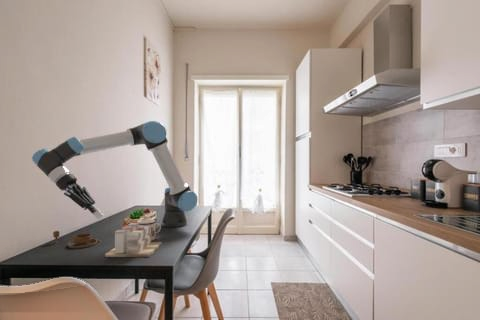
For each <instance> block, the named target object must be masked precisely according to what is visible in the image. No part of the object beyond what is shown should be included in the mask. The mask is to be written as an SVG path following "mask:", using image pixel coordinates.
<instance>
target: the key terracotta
mask: <svg viewBox="0 0 480 320" xmlns="http://www.w3.org/2000/svg"><path fill="white" fill-rule="evenodd" d="M120 230H127V234H129V233H131V232H132V231H133V226H128V225H127V226H125V225H124V226H123V227H121V228H120Z"/></svg>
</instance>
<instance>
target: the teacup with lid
mask: <svg viewBox="0 0 480 320" xmlns="http://www.w3.org/2000/svg"><path fill="white" fill-rule="evenodd" d="M136 223H139V225H138V228H139V227H140V226H142V225H151V242H152V241H153V240H155V239H156V234H158V233H160V231H161V229H162V224H160V223H159V222H156V220H155V219H153V218H151V217H149V215H144V216H143V218H141V219H138V220H137V221H136ZM157 225H158V226H159V227H158V230H156V226H157Z"/></svg>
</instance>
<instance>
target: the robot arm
mask: <svg viewBox="0 0 480 320" xmlns="http://www.w3.org/2000/svg"><path fill="white" fill-rule="evenodd" d="M168 142H169V141H168V138H167V129H166V127H165V125H163V124H162V122H160V121H157V120H152V121H151V120H150V121H146V122H144V123H141V124H139V125H137V126H134V127H131V128H127V129H126V130H125V131H120V132H116V133H115V132H114V133H110V134H109V133H108V134H104V135H100V136H95V137H94V136H93V137H89V138H84V139H83V138H82V139H79V138H78V137H76V136H72V137H70V138H68V139H66V140H65V141H63V143H60V144H58V145H57V146H56V147H54V148H52V149H51V150H49V149H47V148H42V149H39V150H37V151H36V152H34V154H32V157H31V160H32V162H33V163H34V164H35V165H36V167H38V169H39V170H40V171H42V172H43V173H44V175H46V176H47V178H49V180H50V181H51V182H52V183H54V184H55V185H56V187H57V188H58V189H59V190H60V191H65V192H64V193H63V195H64V196H66V197H67V198H69V199H70V200H72V201H73V202H74V203H75V204H76V205H78V206H79V207H81V209H84V210H88V211H89V212H90V213H91V214H92V215H93V216H94V217H95V218H96V219H97V220H100V219H101V218H103V216H104V215H105V214H104V212H102V211H101V209H99V208H98V207H97V206H96V202H97V201H95V199H94V198H93V197H92V196H91V194H90V192H89V191H88V190H87V188H86V187H85V186H82V187H81V185H79V184H78V183H77V180H78V178H77V177H76V176H75V175H74V174H73V173H71V171H70V170H69V169H68V168H67V167H66V166H65V165H64V164H65V163H67V162H68V161H70V160H71V159H73V158H74V157H80V156H82V155H87V154H92V153H97V152H101V151H102V152H103V151H106V150H110V149H115V148H119V147H125V146H129V145H130V146H132V147H133V146H139V145H140V146H141V145H145V147H146V149H147V151H150V152H151V153H152V154H153V157H154V158H155V160H156V163H157V164H158V167H159V169H160V170H161V173H162V175H163V177H164V179H165V181H166V183H167V185H168V187H166V188H165V189H164V214H163V217H162V219H161V227H164V228H179V227H180V228H181V227H185V226H187V225H188V219H187V216H186V214H185V212H190V211H192V210H194V209H195V208H196V206H197V204H198V195H197V194H196V192H195V191H193V190H191V187H190V184H188V183H186V182H185V181H184V178H183V177H182V175H181V172H180V170H179V168H178V166H177V164H176V162H175V160H174V157H173V156H172V153H171V152H170V151H171V150H170V149H169V147H168Z"/></svg>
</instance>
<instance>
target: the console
mask: <svg viewBox="0 0 480 320" xmlns="http://www.w3.org/2000/svg"><path fill="white" fill-rule="evenodd" d="M161 246H162V241H159V242H158V241H157V242H154V241H153V242H152V241H151V225H142V226H140V227H139V228H137V229H135V230H134V231H132V232H131V233H129V234H127V251H126V252H124V253H115V247H114V248H112V249H111V250H109V251H108V252H106V253H105V254H104V255H105V257H106V258H109V257H111V258H122V257H123V258H133V257H134V258H137V257H138V258H139V257H140V258H144V257H145V258H149V257H151V256H152V255H153V254H154V253H155V252H156V251H157V250H158V249H159V248H160V247H161Z"/></svg>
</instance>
